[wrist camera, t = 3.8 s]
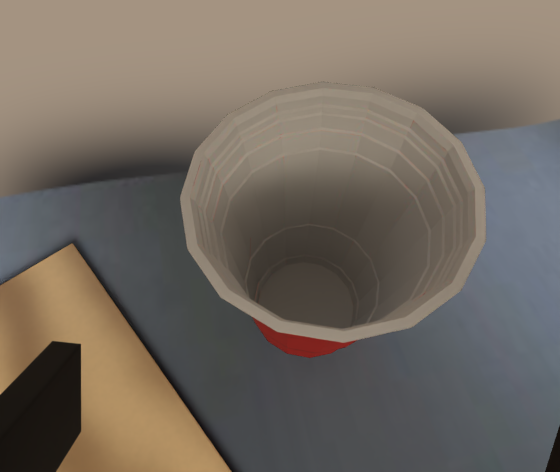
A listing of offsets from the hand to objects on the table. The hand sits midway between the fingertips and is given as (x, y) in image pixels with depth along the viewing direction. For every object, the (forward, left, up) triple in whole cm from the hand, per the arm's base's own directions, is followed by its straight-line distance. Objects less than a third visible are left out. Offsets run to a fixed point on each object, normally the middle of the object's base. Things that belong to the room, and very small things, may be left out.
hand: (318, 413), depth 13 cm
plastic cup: (-5, -5, -12) cm, 15 cm away
